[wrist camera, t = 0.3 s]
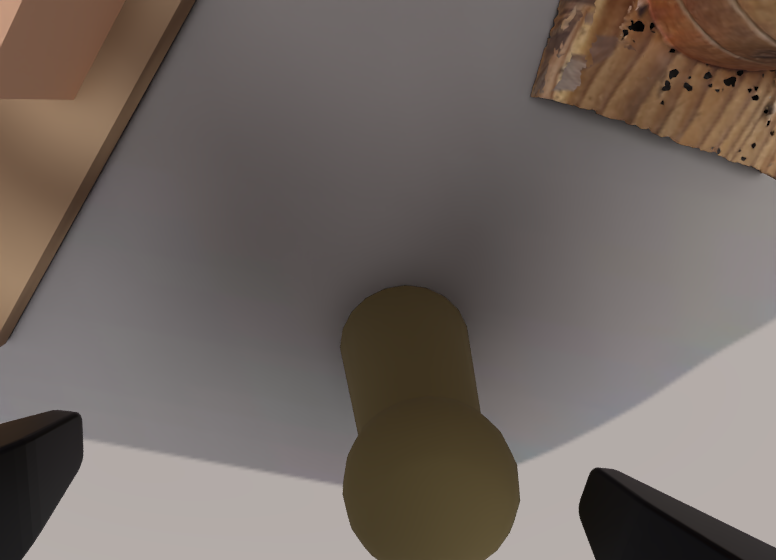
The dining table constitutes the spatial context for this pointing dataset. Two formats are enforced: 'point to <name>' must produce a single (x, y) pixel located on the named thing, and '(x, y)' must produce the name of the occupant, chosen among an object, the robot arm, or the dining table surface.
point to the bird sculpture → (654, 61)
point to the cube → (51, 45)
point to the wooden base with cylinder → (70, 146)
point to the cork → (421, 435)
